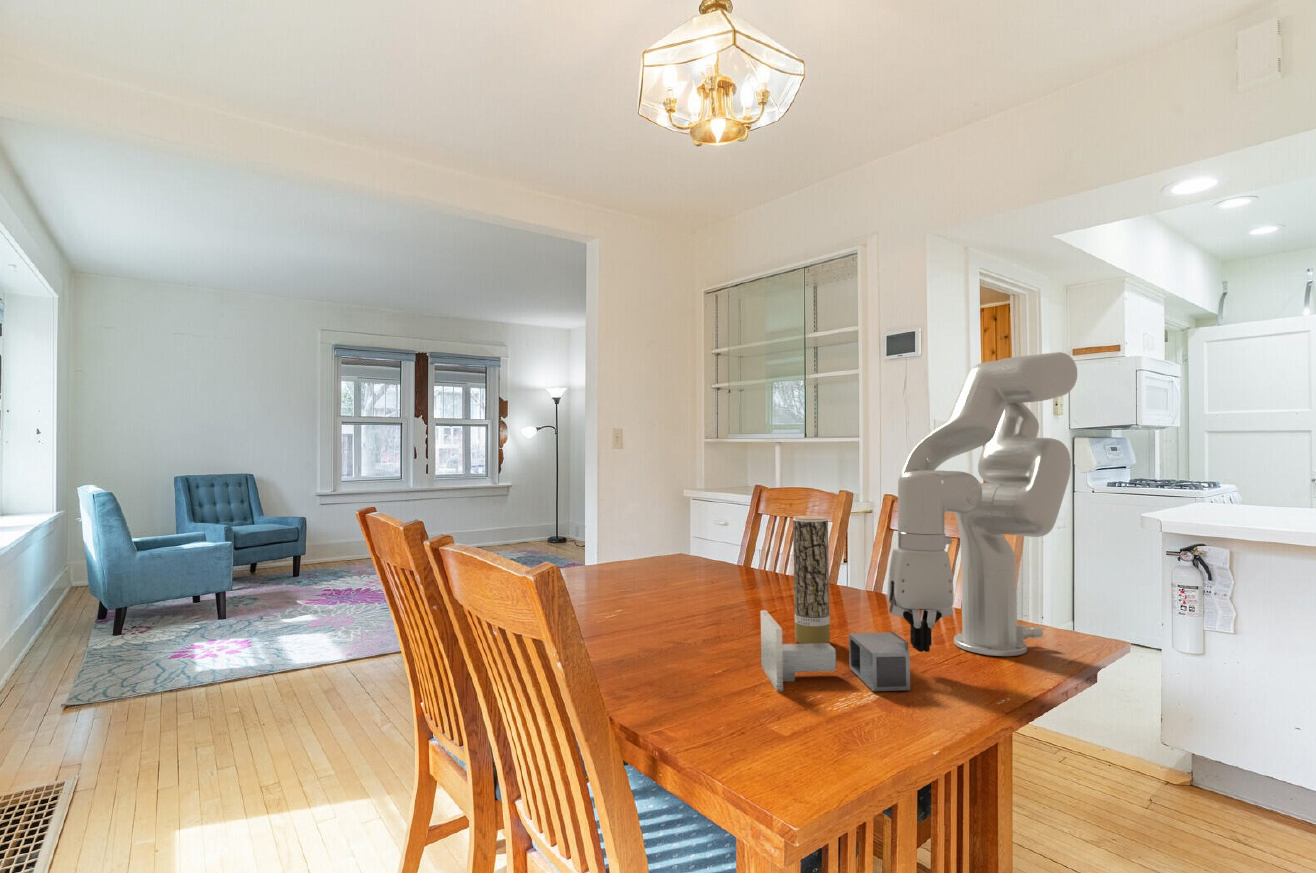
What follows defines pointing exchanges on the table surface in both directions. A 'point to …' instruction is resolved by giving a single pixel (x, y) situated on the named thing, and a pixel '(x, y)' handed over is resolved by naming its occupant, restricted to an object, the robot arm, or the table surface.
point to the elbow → (880, 660)
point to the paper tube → (811, 579)
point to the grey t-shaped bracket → (791, 655)
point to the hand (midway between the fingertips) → (920, 649)
